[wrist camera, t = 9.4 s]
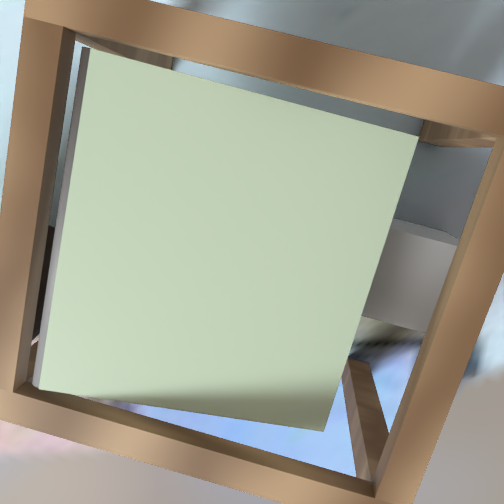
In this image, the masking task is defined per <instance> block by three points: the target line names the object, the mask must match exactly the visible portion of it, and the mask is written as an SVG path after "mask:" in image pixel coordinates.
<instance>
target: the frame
mask: <svg viewBox="0 0 504 504" xmlns="http://www.w3.org/2000/svg"><path fill="white" fill-rule="evenodd" d="M75 40H76V41H78V42H81V43H83V44H85V45H87V46H89V47H92V48H94V49H96V50H99V51H102V52H106V53H110V54H114V55H117V56H121V57H125V58H128V59H132V60H136V61H139V62H143V63H147V64H151V65H154V66H158V67H162V68H165V69H169V70H171V66H172V61H173V57H176V58H180V59H184V60H188V61H192V62H196V63H200V64H204V65H208V66H212V67H216V68H220V69H224V70H228V71H232V72H236V73H240V74H244V75H248V76H252V77H256V78H260V79H264V80H268V81H273V82H277V83H281V84H285V85H289V86H293V87H297V88H301V89H305V90H309V91H313V92H317V93H321V94H325V95H329V96H333V97H337V98H341V99H345V100H349V101H353V102H357V103H361V104H365V105H369V106H373V107H377V108H381V109H385V110H389V111H393V112H397V113H401V114H405V115H409V116H413V117H417V118H421V119H425V120H424V123H423V126H422V129H421V132H420V135H419V139H418V141H420V142H424V143H428V144H432V145H436V146H440V147H493V149H492V152H491V155H490V157H489V160H488V163H487V166H486V168H485V171H484V174H483V177H482V179H481V182H480V185H479V188H478V191H477V193H476V196H475V199H474V202H473V204H472V207H471V210H470V213H469V215H468V218H467V221H466V224H465V226H464V229H463V232H462V235H461V237H460V240H459V243H458V246H457V248H456V251H455V254H454V257H453V259H452V262H451V265H450V268H449V270H448V273H447V276H446V279H445V281H444V284H443V287H442V290H441V292H440V295H439V298H438V301H437V303H436V306H435V309H434V312H433V314H432V317H431V320H430V323H429V325H428V328H427V331H426V334H425V337H424V339H423V342H422V345H421V348H420V350H419V353H418V356H417V359H416V361H415V364H414V367H413V370H412V372H411V375H410V378H409V381H408V383H407V386H406V389H405V392H404V394H403V397H402V400H401V403H400V405H399V408H398V411H397V414H396V416H395V419H394V422H393V425H392V427H391V430H390V433H389V432H388V429H387V425H386V422H385V418H384V415H383V411H382V408H381V404H380V401H379V397H378V394H377V390H376V387H375V383H374V380H373V376H372V373H371V369H370V366H369V363H365V362H362V361H358V360H354V359H351V358H347V361H346V364H345V367H344V370H343V373H342V376H341V378H342V384H343V391H344V397H345V404H346V411H347V417H348V424H349V430H350V437H351V444H352V450H353V457H354V463H355V470H356V477H353V476H350V475H346V474H343V473H339V472H336V471H332V470H329V469H326V468H322V467H319V466H315V465H312V464H308V463H305V462H302V461H298V460H295V459H291V458H288V457H284V456H281V455H278V454H274V453H271V452H267V451H264V450H260V449H257V448H253V447H250V446H247V445H243V444H240V443H236V442H233V441H229V440H226V439H223V438H219V437H216V436H212V435H209V434H205V433H202V432H198V431H195V430H192V429H188V428H185V427H181V426H178V425H174V424H171V423H168V422H164V421H161V420H157V419H154V418H150V417H147V416H144V415H140V414H137V413H133V412H130V411H126V410H123V409H119V408H116V407H113V406H109V405H106V404H102V403H99V402H95V401H92V400H89V399H85V398H82V397H78V396H75V395H71V394H67V393H61V392H54V391H47V390H41V389H39V388H37V387H35V386H33V384H32V381H33V374H34V368H35V361H36V354H37V347H38V341H39V340H38V341H37V342H36V343H34V344H33V345H32V346H31V342H32V335H33V329H34V322H35V315H36V308H37V301H38V294H39V287H40V280H41V273H42V266H43V259H44V253H45V246H46V239H47V232H48V225H49V218H50V211H51V204H52V197H53V190H54V183H55V177H56V170H57V163H58V156H59V149H60V142H61V135H62V128H63V121H64V114H65V107H66V100H67V94H68V87H69V80H70V73H71V66H72V59H73V52H74V45H75ZM503 272H504V86H500V85H496V84H492V83H488V82H483V81H479V80H475V79H471V78H467V77H463V76H459V75H455V74H451V73H446V72H442V71H438V70H434V69H430V68H426V67H422V66H418V65H413V64H409V63H405V62H401V61H397V60H393V59H389V58H385V57H380V56H376V55H372V54H368V53H364V52H360V51H356V50H352V49H348V48H343V47H339V46H335V45H331V44H327V43H323V42H319V41H315V40H310V39H306V38H302V37H298V36H294V35H290V34H286V33H282V32H277V31H273V30H269V29H265V28H261V27H257V26H253V25H249V24H245V23H240V22H236V21H232V20H228V19H224V18H220V17H216V16H212V15H207V14H203V13H199V12H195V11H191V10H187V9H183V8H179V7H175V6H170V5H166V4H162V3H158V2H154V1H150V0H26V1H25V9H24V18H23V26H22V35H21V43H20V52H19V60H18V68H17V77H16V85H15V94H14V102H13V110H12V119H11V127H10V136H9V144H8V153H7V161H6V169H5V178H4V186H3V195H2V203H1V212H0V420H3V421H6V422H10V423H13V424H17V425H20V426H23V427H27V428H30V429H33V430H37V431H40V432H44V433H47V434H50V435H54V436H57V437H60V438H64V439H67V440H70V441H74V442H77V443H81V444H84V445H87V446H91V447H94V448H97V449H101V450H104V451H108V452H111V453H114V454H118V455H121V456H124V457H128V458H131V459H135V460H138V461H142V462H145V463H148V464H151V465H155V466H158V467H162V468H165V469H169V470H172V471H175V472H178V473H182V474H186V475H189V476H192V477H195V478H199V479H202V480H206V481H209V482H212V483H216V484H219V485H222V486H226V487H229V488H233V489H236V490H239V491H243V492H246V493H249V494H253V495H256V496H260V497H263V498H266V499H270V500H273V501H276V502H280V503H283V504H413V501H414V499H415V496H416V493H417V491H418V488H419V486H420V483H421V481H422V478H423V476H424V473H425V471H426V468H427V465H428V463H429V461H430V458H431V455H432V453H433V450H434V448H435V445H436V443H437V440H438V437H439V435H440V432H441V430H442V427H443V425H444V422H445V420H446V417H447V415H448V412H449V410H450V407H451V405H452V402H453V399H454V397H455V394H456V392H457V389H458V387H459V384H460V382H461V379H462V377H463V374H464V371H465V369H466V366H467V364H468V361H469V359H470V356H471V354H472V351H473V349H474V346H475V343H476V341H477V338H478V336H479V333H480V331H481V328H482V326H483V323H484V321H485V318H486V315H487V313H488V310H489V308H490V305H491V303H492V300H493V298H494V295H495V293H496V290H497V287H498V285H499V282H500V280H501V277H502V275H503Z"/></svg>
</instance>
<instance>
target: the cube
mask: <svg viewBox="0 0 504 504" xmlns="http://www.w3.org/2000/svg"><path fill="white" fill-rule="evenodd" d="M458 243H459V240H458V239H457V238H455V237H453V236H452V235H450V234H448V233H447V232H445V231H441V230H437V229H433V228H429V227H426V226H422V225H418V224H414V223H410V222H407V221H403V220H399V219H395V218H393V219H392V222H391V225H390V228H389V231H388V234H387V238H386V241H385V244H384V247H383V250H382V253H381V256H380V259H379V262H378V265H377V268H376V272H375V275H374V278H373V281H372V284H371V287H370V290H369V293H368V296H367V299H366V302H365V305H364V309H363V312H362V315H361V316H364V317H368V318H371V319H375V320H379V321H382V322H386V323H390V324H393V325H397V326H401V327H404V328H408V329H412V330H415V331H419V332H423V333H426V331H427V328H428V325H429V323H430V320H431V317H432V314H433V312H434V309H435V306H436V303H437V301H438V298H439V295H440V292H441V290H442V287H443V284H444V281H445V279H446V276H447V273H448V270H449V268H450V265H451V262H452V259H453V257H454V254H455V251H456V248H457V246H458Z"/></svg>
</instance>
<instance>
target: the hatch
mask: <svg viewBox="0 0 504 504" xmlns="http://www.w3.org/2000/svg"><path fill="white" fill-rule="evenodd" d="M418 139H419V137H418V136H414V135H410V134H406V133H403V132H399V131H395V130H392V129H388V128H384V127H381V126H377V125H373V124H369V123H366V122H362V121H358V120H355V119H351V118H347V117H343V116H340V115H336V114H332V113H329V112H325V111H321V110H317V109H314V108H310V107H306V106H303V105H299V104H295V103H292V102H288V101H284V100H280V99H277V98H273V97H269V96H266V95H262V94H258V93H254V92H251V91H247V90H243V89H240V88H236V87H232V86H228V85H225V84H221V83H217V82H214V81H210V80H206V79H203V78H199V77H195V76H191V75H188V74H184V73H180V72H177V71H173V70H169V69H165V68H162V67H158V66H154V65H151V64H147V63H143V62H139V61H136V60H132V59H128V58H125V57H121V56H117V55H114V54H110V53H106V52H102V51H99V50H95V49H90V48H86V47H82V51H81V58H80V65H79V71H78V78H77V85H76V92H75V98H74V105H73V112H72V118H71V125H70V132H69V139H68V145H67V152H66V159H65V166H64V172H63V179H62V186H61V193H60V199H59V206H58V213H57V220H56V226H55V233H54V240H53V246H52V253H51V260H50V267H49V273H48V280H47V287H46V294H45V300H44V307H43V314H42V321H41V327H40V334H39V341H38V347H37V354H36V361H35V368H34V374H33V381H32V384H33V386H35V387H37V388H39V389H41V390H47V391H54V392H61V393H67V394H74V395H81V396H87V397H94V398H101V399H108V400H114V401H121V402H128V403H134V404H141V405H148V406H154V407H161V408H168V409H175V410H181V411H188V412H195V413H201V414H208V415H215V416H222V417H228V418H235V419H242V420H248V421H255V422H262V423H268V424H275V425H282V426H289V427H295V428H302V429H309V430H315V431H322V432H324V429H325V426H326V423H327V420H328V417H329V414H330V410H331V407H332V404H333V401H334V398H335V395H336V392H337V389H338V386H339V383H340V380H341V376H342V373H343V370H344V367H345V364H346V361H347V358H348V355H349V352H350V349H351V346H352V343H353V339H354V336H355V333H356V330H357V327H358V324H359V321H360V318H361V315H362V312H363V309H364V305H365V302H366V299H367V296H368V293H369V290H370V287H371V284H372V281H373V278H374V275H375V272H376V268H377V265H378V262H379V259H380V256H381V253H382V250H383V247H384V244H385V241H386V238H387V234H388V231H389V228H390V225H391V222H392V219H393V216H394V213H395V210H396V207H397V204H398V201H399V197H400V194H401V191H402V188H403V185H404V182H405V179H406V176H407V173H408V170H409V167H410V164H411V160H412V157H413V154H414V151H415V148H416V145H417V142H418Z"/></svg>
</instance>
